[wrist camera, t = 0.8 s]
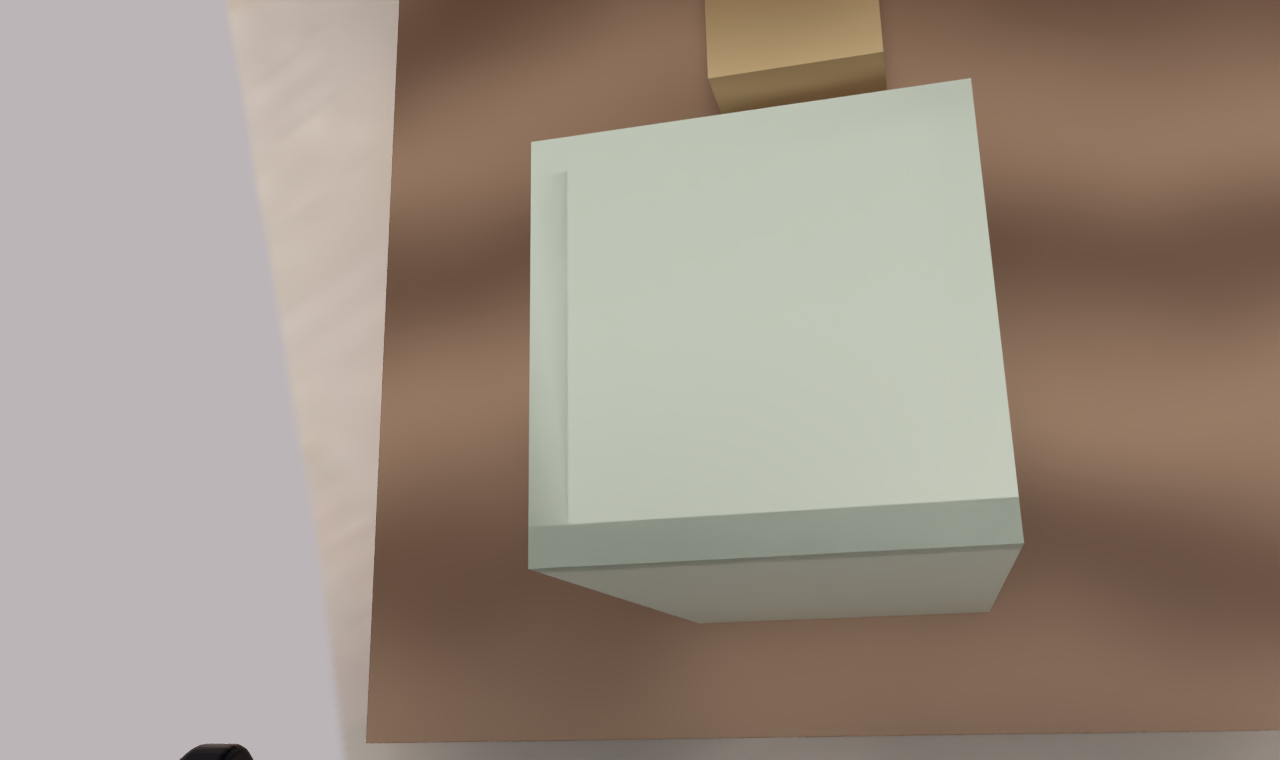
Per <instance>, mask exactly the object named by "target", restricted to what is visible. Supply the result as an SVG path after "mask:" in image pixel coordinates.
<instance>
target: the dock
mask: <svg viewBox="0 0 1280 760" xmlns="http://www.w3.org/2000/svg"><path fill="white" fill-rule="evenodd" d="M968 78H971V83H972V92H973V101H974V109H975V118H976V127H977V136H978V144H979V153H980V162H981V171H982V179H983V188H984V197H985V206H986V214H987V223H988V232H989V241H990V249H991V258H992V267H993V276H994V284H995V293H996V302H997V311H998V319H999V328H1000V337H1001V346H1002V354H1003V363H1004V372H1005V381H1006V389H1007V398H1008V407H1009V415H1010V424H1011V433H1012V442H1013V450H1014V459H1015V468H1016V477H1017V485H1018V494H1019V503H1020V512H1021V520H1022V529H1023V538H1024V545H1023V546H1022V548H1021V550H1020V552H1019V554H1018V556H1017V558H1016V560H1015V562H1014V564H1013V566H1012V568H1011V570H1010V572H1009V574H1008V576H1007V578H1006V580H1005V582H1004V584H1003V586H1002V588H1001V590H1000V592H999V594H998V596H997V598H996V600H995V602H994V604H993V606H992V607H991V609H990V611H989V612H981V613H955V614H929V615H904V616H878V617H852V618H826V619H800V620H774V621H748V622H722V623H696V622H693V621H689V620H686V619H683V618H680V617H677V616H674V615H671V614H667V613H664V612H661V611H658V610H655V609H652V608H649V607H646V606H642V605H639V604H636V603H633V602H630V601H627V600H624V599H620V598H617V597H614V596H611V595H608V594H605V593H602V592H599V591H595V590H592V589H589V588H586V587H583V586H580V585H577V584H573V583H570V582H567V581H564V580H561V579H558V578H555V577H551V576H548V575H545V574H542V573H539V572H536V571H533V570H530V569H528V512H529V375H530V238H531V142H535V141H542V140H548V139H555V138H562V137H569V136H576V135H583V134H590V133H597V132H603V131H610V130H617V129H624V128H631V127H638V126H645V125H652V124H658V123H665V122H672V121H679V120H686V119H693V118H700V117H707V116H713V115H720V114H727V113H734V112H741V111H748V110H755V109H762V108H768V107H775V106H782V105H789V104H796V103H803V102H810V101H817V100H824V99H830V98H837V97H844V96H851V95H858V94H865V93H872V92H879V91H885V90H892V89H899V88H906V87H913V86H920V85H927V84H934V83H940V82H947V81H954V80H961V79H968ZM1259 730H1280V0H399V22H398V44H397V67H396V89H395V111H394V134H393V156H392V178H391V200H390V223H389V245H388V267H387V289H386V312H385V334H384V356H383V379H382V401H381V423H380V445H379V468H378V490H377V512H376V535H375V557H374V579H373V601H372V624H371V646H370V668H369V690H368V713H367V735H366V743H416V742H487V741H557V740H627V739H697V738H767V737H838V736H908V735H978V734H1048V733H1118V732H1189V731H1259Z"/></svg>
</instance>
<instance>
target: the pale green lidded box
mask: <svg viewBox="0 0 1280 760" xmlns="http://www.w3.org/2000/svg"><path fill="white" fill-rule="evenodd" d="M1023 545H1024V538H1023V529H1022V520H1021V512H1020V503H1019V494H1018V485H1017V477H1016V468H1015V459H1014V450H1013V442H1012V433H1011V424H1010V415H1009V407H1008V398H1007V389H1006V381H1005V372H1004V363H1003V354H1002V346H1001V337H1000V328H999V319H998V311H997V302H996V293H995V284H994V276H993V267H992V258H991V249H990V241H989V232H988V223H987V214H986V206H985V197H984V188H983V179H982V171H981V162H980V153H979V144H978V136H977V127H976V118H975V109H974V101H973V92H972V83H971V78H968V79H961V80H954V81H947V82H940V83H934V84H927V85H920V86H913V87H906V88H899V89H892V90H885V91H879V92H872V93H865V94H858V95H851V96H844V97H837V98H830V99H824V100H817V101H810V102H803V103H796V104H789V105H782V106H775V107H768V108H762V109H755V110H748V111H741V112H734V113H727V114H720V115H713V116H707V117H700V118H693V119H686V120H679V121H672V122H665V123H658V124H652V125H645V126H638V127H631V128H624V129H617V130H610V131H603V132H597V133H590V134H583V135H576V136H569V137H562V138H555V139H548V140H542V141H535V142H531V238H530V375H529V512H528V569H530V570H533V571H536V572H539V573H542V574H545V575H548V576H551V577H555V578H558V579H561V580H564V581H567V582H570V583H573V584H577V585H580V586H583V587H586V588H589V589H592V590H595V591H599V592H602V593H605V594H608V595H611V596H614V597H617V598H620V599H624V600H627V601H630V602H633V603H636V604H639V605H642V606H646V607H649V608H652V609H655V610H658V611H661V612H664V613H667V614H671V615H674V616H677V617H680V618H683V619H686V620H689V621H693V622H696V623H722V622H748V621H774V620H800V619H826V618H852V617H878V616H904V615H929V614H955V613H981V612H989V611H990V609H991V607H992V606H993V604H994V602H995V600H996V598H997V596H998V594H999V592H1000V590H1001V588H1002V586H1003V584H1004V582H1005V580H1006V578H1007V576H1008V574H1009V572H1010V570H1011V568H1012V566H1013V564H1014V562H1015V560H1016V558H1017V556H1018V554H1019V552H1020V550H1021V548H1022V546H1023Z"/></svg>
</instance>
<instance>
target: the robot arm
mask: <svg viewBox="0 0 1280 760" xmlns="http://www.w3.org/2000/svg"><path fill="white" fill-rule="evenodd" d="M180 760H253V759H252V757H251V755H250V753H249V752H248V751H247V749H246V748H245V747H243V746H241V745H239V744H204V745H199V746H197V747H195V748H193V749H192V750H190V751H189V752H188V753H186V754H185V755H184V756H183V757H182V758H181V759H180Z"/></svg>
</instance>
